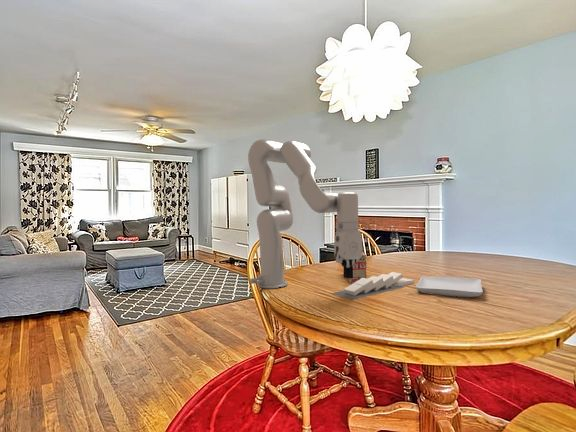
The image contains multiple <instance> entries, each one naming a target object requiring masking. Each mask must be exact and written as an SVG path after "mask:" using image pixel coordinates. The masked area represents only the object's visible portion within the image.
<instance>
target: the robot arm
mask: <svg viewBox="0 0 576 432" xmlns="http://www.w3.org/2000/svg"><path fill="white" fill-rule="evenodd" d="M311 157H312V152H311V149H310V147H309V146H308V145H307V144H305V143H302V142H298V141H295V140H288V141H285V142H279V141H276V140H270V139H265V138H264V139H263V138H262V139H261V138H259V139H257V140H256V141H254V142H253V143H252V145H251V146H250V148H249V150H248V155H247V160H248V167H249V169H250V172H251V173H250V174H251V177H252V183H253V188H254V189H253V190H254V195H255V199H256V202H257V204H258V205H259V206H262V207H271V208H269V209H263V210H262V211H260V212H259V213H258V215H257V217H256V227H257V230H258V236H259V258H260V259H259V263H260V274H258V276H257V277H253V278H250V279H249V282H250V284H257V285H256V286H257V287H258V288H262V289H280V288H279V287H281V288H284V286H285V287H287V286H288V285H289V284H288V281H287V280H284V279H285V275H284V272H285V271H284V246H283V239H282V235H281V232H282V231H283V232H284V231H288V230H289V229H291V227H292V225H293V223H294V215H293V209H292V204H291V199H290V193H289V192H288V190H287V188H286V187H285V186H283V185H282V184H276V183H275V182H274V177H273V171H272V169H271V168H270V165H269V164H268V162H273V163H278V164H279V163H282V164H285V165H286V166H287V167H288V168H289V170H290V171H291V172H292V173H293V175H294V176H295V179H297V181H298V188H299V192H300V195H301V197H302V198H303V200H304V201H305V202H306V204H307V205H308V206H309V208H310V209H312V211H314V212H315V213H318V214H331V213H336V224H335V228H336V230H335V231H336V232H335V234H334V235H335V236H334V245H333V247H334V248H333V250H334V251H333V254H334V258H335V263H337V264H340V265H341V267H342V268H343V278H345V279H348V280H349V279H350V278H353V267H354V265H355V262H356V261H358V260H360V257H362V255H363V253H364V251H363V240H362V234H361V230H359V196H358V194H357V192H355V191H354V192H352V191H348V192H347V191H346V192H329V191H328V192H326V191H325V192H324V191H323V190H322V189H321V187H320V186H319V185H318V183H317V182H316V179H315V175H316V172H317V166H316V165H315V163H314V162H313V161H312V160H311Z"/></svg>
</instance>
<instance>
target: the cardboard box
mask: <svg viewBox="0 0 576 432" xmlns="http://www.w3.org/2000/svg"><path fill="white" fill-rule="evenodd" d="M361 278H367V254H365V253H364V252H363V255H362V257H360V260H358V261H356V262H355V265H354V267H353V278H350V279H348V280H349V281H350V283H351V284H353V283H355V282H356V281H358V280H360V279H361ZM367 279H368V278H367Z"/></svg>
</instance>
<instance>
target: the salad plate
mask: <svg viewBox="0 0 576 432" xmlns="http://www.w3.org/2000/svg"><path fill="white" fill-rule="evenodd" d="M415 289H416V290H417V291H419V292H420V293H424V294H428V295H429V294H430V295H439V296H447V297H456V296H457V297H458V298H459V297H460V298H476V297H479V296H481V295H482V294H483V293H484V291H483V286H482V279H481V278H470V277H468V278H467V277H466V278H465V277H455V276H454V277H451V276H449V277H448V276H427V275H423V276H421V277H420V279H419V280H418V282H417V284H416V286H415ZM457 297H456V298H457Z"/></svg>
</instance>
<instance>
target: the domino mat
mask: <svg viewBox="0 0 576 432" xmlns="http://www.w3.org/2000/svg"><path fill="white" fill-rule="evenodd" d="M402 288H405V286H399V287H397V286H393V285H391V286H390V287H388V288H387V289H386V288H382V287H381V288H380V289H378V290H377V291H375V290H370V291H369V292H367V293H363V292H360V293H358V294H357V295H355V296H354V295H350V294H346V293H345V291H344V290H341V291H337V292H331V293H330V294H331V295H335V296H338V297H341V298H344V299H345V298H346V299H347V300H348V299H349V300H351V301H353V300H357V299H361V298H366V297H370V296H373V295H379V294H382V293H386V292H387V293H388V292H391V291H394V290H399V289H402Z"/></svg>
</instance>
